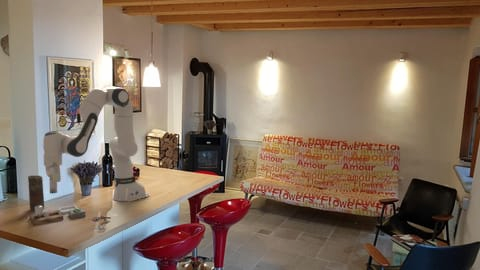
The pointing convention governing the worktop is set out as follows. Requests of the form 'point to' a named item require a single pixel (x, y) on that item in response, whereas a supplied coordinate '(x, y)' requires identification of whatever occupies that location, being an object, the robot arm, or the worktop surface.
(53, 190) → the cylinder
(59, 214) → the wooden holder frame
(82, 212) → the grey square holed block
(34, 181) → the brown rounded piece
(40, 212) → the seated billet
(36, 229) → the worktop surface
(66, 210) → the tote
